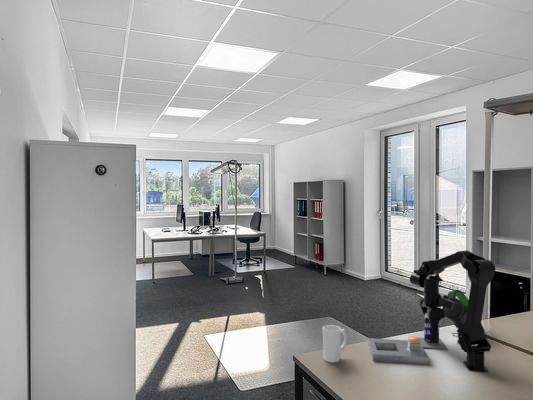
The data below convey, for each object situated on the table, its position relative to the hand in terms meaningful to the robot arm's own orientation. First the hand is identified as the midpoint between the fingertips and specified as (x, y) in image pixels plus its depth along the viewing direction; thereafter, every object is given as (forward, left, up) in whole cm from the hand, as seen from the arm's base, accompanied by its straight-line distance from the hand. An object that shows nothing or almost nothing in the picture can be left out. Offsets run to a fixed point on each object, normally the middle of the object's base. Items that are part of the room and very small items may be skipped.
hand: (431, 327), depth 157 cm
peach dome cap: (-12, +10, -3) cm, 16 cm away
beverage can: (0, 0, -7) cm, 7 cm away
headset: (+13, -18, -7) cm, 23 cm away
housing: (-12, +16, -7) cm, 21 cm away
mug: (-20, +40, -7) cm, 45 cm away
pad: (0, 0, -7) cm, 7 cm away
